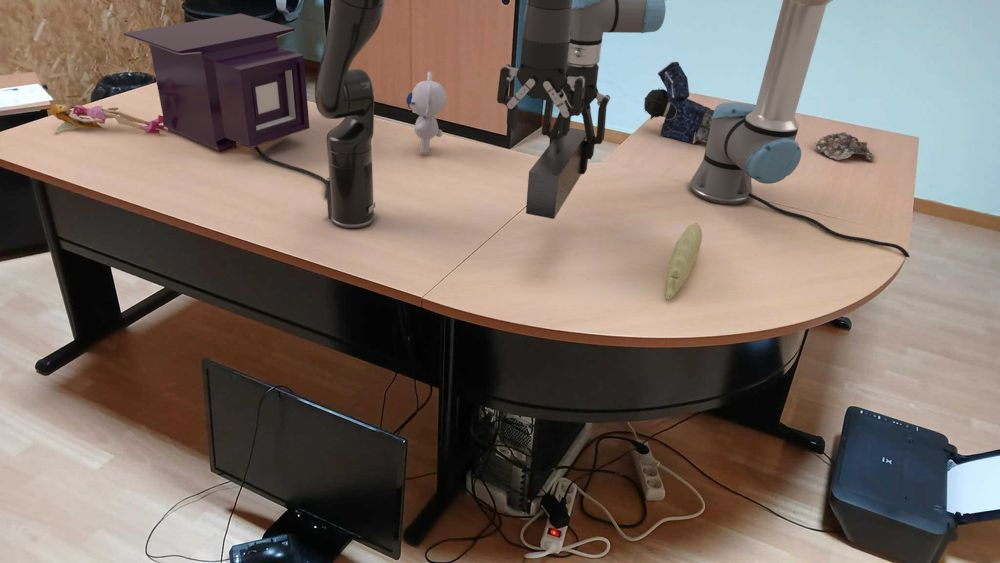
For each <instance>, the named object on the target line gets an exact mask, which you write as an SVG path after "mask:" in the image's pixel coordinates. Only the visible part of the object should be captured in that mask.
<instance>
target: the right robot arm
mask: <svg viewBox="0 0 1000 563" xmlns="http://www.w3.org/2000/svg"><path fill="white" fill-rule="evenodd" d="M833 1H834V0H782V2H781V7H780V11H779V14H778V18H777V21H776V26H775V30H774V34H773V38H772V41H771V46H770V49H769V54H768V57H767V61H766V65H765V68H764V72H763V76H762V80H761V84H760V88H759V92H758V96H757V98H756V104H754V103H748V102H737V101H736V102H735V101H734V102H733V101H731V102H721V103H719V104H717V105H716V106H715V108H714V109H713V110H714V113H713V116H712V122H711V127H710V131H709V136H708V141H707V142H706V145H705V150H704V154H703V159H702V161H701V163H700V165H699V166H698V168H697V169H696V171H695V173H694V174H693V176H692V179H691V181H690V184H689V189H690V191H691V193H693V194H694V196H696V197H698V198H700V199H702V200H704V201H707V202H710V203H713V204H717V205H726V206H727V205H729V206H734V205H742V204H745V203H747V202H749V201H750V199H751V198H752V199H754V200H755V201H757V202H759V203H761V204H762V205H764V206H767V207H768V208H770V209H772V210H774V211H775V212H778V213H781V214H784V215H786V216H791V217H795V218H799V219H802V220H805V221H808V222H809V223H812V224H814V225H816V226H817V227H819V228H820V229H822V230H823V231H825V232H826V233H828V234H831V235H833V236H835V237H838V238H841V239H845V240H850V241H855V242H861V243H867V244H873V245H877V246H882V247H887V248H892V249H893V248H894V249H896V250H898V251H900V252H901V253H902V254H903V255H904V257H906V258H910V255H909V253H908V251H907V250H906V249H905V248H904V247H903V246H901V245H898V244H897V243H896V244H895V243H891V242H886V241H879V240H875V239H870V238H865V237H860V236H853V235H848V234H844V233H840V232H837V231H834V230H832V229H831V228H828V227H827V226H826V225H824V224H823V223H821V222H819V221H818V220H816V219H814V218H812V217H809V216H806V215H803V214H800V213H797V212H792V211H789V210H785V209H782V208H780V207H777V206H775V205H774V204H772V203H770V202H768V201H767V200H764V199H763V198H761V197H759V196H757V195H756V194H753V193H752V192H753V186H752V179H753V180H754V181H756V182H758V183H760V184H766V185H770V184H775V183H778V182H781V181H783V180H784V179H785V178H786V177H788V176H789V177H790V175H791V174H792V173H793V172H794V171H795V170H796V169H797V168H798V166H799V164H800V162H801V158H802V148H801V147H800V144H799V143H798V142H797V141H796V138H797V135H798V131H799V128H800V124H799V122H798V121H797V119H796V117H795V116H796V112H797V109H798V105H799V102H800V98H801V95H802V91H803V89H804V84H805V81H806V78H807V74H808V71H809V68H810V64H811V61H812V57H813V54H814V50H815V47H816V43H817V39H818V35H819V32H820V29H821V25H822V22H823V19H824V16H825V11H826V8H827V6H828V4H830V3H831V2H833ZM571 7H572V9H571V15H572V23H571V36H570V42H569V51H568V61H567V74H568V76H571V77H579V76H581V75H583V76H584V77H585V93H584V109H583V111H582V112H581V114H580V115H581V116H582V121H583V127H584V130H585V132H586V138H587V141H586V143H585V144H584V148H583V157H582V165H581V175H585V174H586V172H587V170H588V161H589V160H592V158H593V156H594V152H595V145H601V144H602V143H603V141H604V140H605V133H606V132H605V131H606V121H607V120H606V119H607V106H608V105H609V103H610V100H611V96H610V95H609V94H605V95H604V94H602V93H600V92H599V90H598V77H599V75H598V74H599V68H600V66H599V63H600V61H601V51H602V42H603V35H604V33H608V34H609V33H623V34H627V33H631V34H632V33H635V34H636V33H637V34H639V33H640V34H646V33H654V32H657V31H659V30H660V29H661V28H662V26H663V24H664V21H665V18H666V12H667V11H666V0H572V6H571ZM562 90H563V91H564V93H565V95H566V97H567V100H568V102H569V104H570V105H571V107H572V106H574V91H572V90H571V86H570V85H569V84H568V83H567V84H566V85H565V86H564V87H563V89H562ZM595 99H596V101H597V102H596V104H597V105H598V110H597V125H596V133H595V129H594V122H593V117H592V110H591V108H592V107H591V104H592V103H593V102H594V100H595ZM554 106H555V104H554V102H553V101H552V99H551V100H548V101H546V100H545V104H544V111H543V119H542V128H541V135H543V136H546V137H548V138H549V145H550V144H551V142H552V141H553V140H554V139H555V137H556V136H557V135H558V133H559V127H560V118H561V116H562V114H561V112H560V111H559V112H558V114H557V116H556V119H555V122H554V124H553V126H552V128H551V124H552V120H553V119H552V118H553V112H554V111H553V110H554ZM549 145H548V146H549Z"/></svg>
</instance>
